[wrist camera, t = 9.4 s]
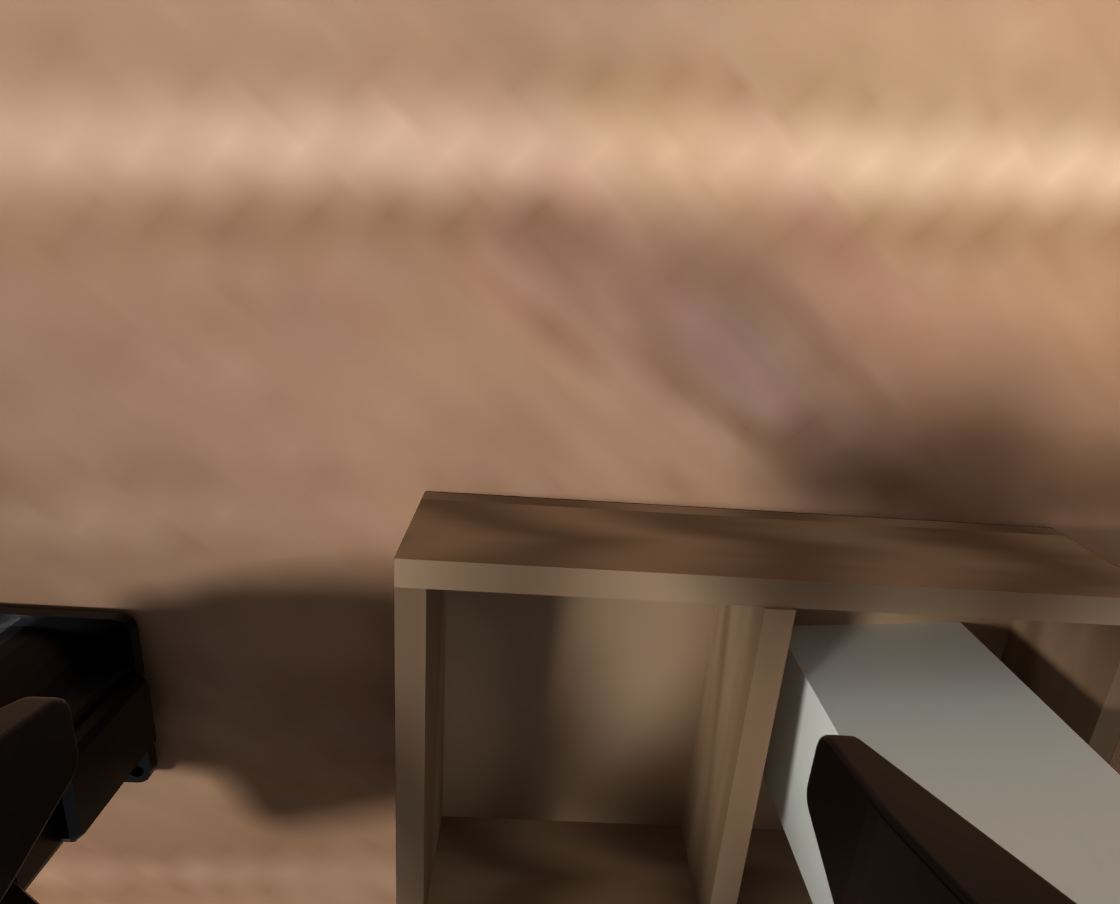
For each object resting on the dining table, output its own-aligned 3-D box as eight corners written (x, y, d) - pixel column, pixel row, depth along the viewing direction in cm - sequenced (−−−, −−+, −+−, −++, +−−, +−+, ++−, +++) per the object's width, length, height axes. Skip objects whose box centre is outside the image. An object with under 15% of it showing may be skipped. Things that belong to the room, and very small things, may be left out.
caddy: (762, 774, 24) (902, 1132, 14) (776, 626, 22) (948, 925, 13) (931, 769, 24) (1181, 1122, 15) (960, 622, 22) (1268, 917, 13)
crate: (422, 818, 25) (396, 943, 21) (425, 491, 21) (393, 560, 17) (951, 839, 26) (1033, 964, 22) (1051, 527, 22) (1177, 602, 17)
